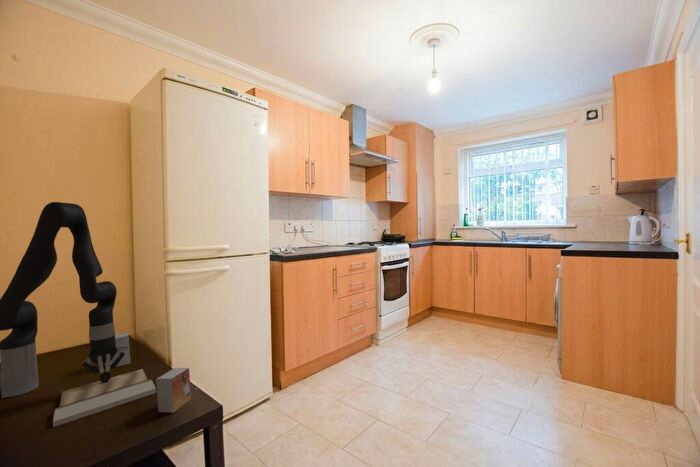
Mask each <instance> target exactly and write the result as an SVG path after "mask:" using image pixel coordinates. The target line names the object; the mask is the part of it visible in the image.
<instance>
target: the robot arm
mask: <svg viewBox="0 0 700 467" xmlns="http://www.w3.org/2000/svg"><path fill="white" fill-rule="evenodd" d="M85 212H86V211H85V210H84V209H83V207H82V206H80V205H79V204H77V203H72V202H60V201H51V202H48V203H47V204H46V205H45V206H44V207H43V208H42V210H41V213H40V215H39V218H38V221H37V224H36V227H35V230H34V233H33V236H32V238H31V239H30V242H29V244H28V247H27V248H26V251H25V252H24V254H23V255H22V258H21V260H20V262H19V264H18V266H17V268H16V271H15V273H14V275H13V277H12V279H11V281H10V282H9V284H8V285H7V288H6V289H5V291H4V293H3V294H2V295H1V297H0V332H1V331H2V332H3V331H9V330H11V332H10V333H9V334H8V335H6V336H5V337H4V338H3V339H2V340H0V390H1V391H0V392H1V399H4V398H5V399H6V398H11V397H16V396H21V395H24V394H27V393H30V392H31V391H34V390H36V389H37V388H38V387H39V386H40V385H39V369H38V358H37V345H36V344H37V343H36V342H37V341H36V337H37V335H38V330H39V329H38V310H37V308H36V305H35V304H34V303H33V302H32V301H29V300H27V299H28V297H29V296H30V295H31V294H33V292H35V291H36V290H37V289H38V288H39V287H41V285H43V284H44V283H45V282H46V281H47V280H48V279H49V277H50V276H51V274H52V272H53V270H54V268H55V266H56V264H57V262H58V254H57V251H56V246H55V242H56V238H57V236H58V234H59V231H60V230H61V229H62V228H67V229H69V231H70V233H71V235H72V237H73V238H72V239H73V246H72V247H73V248H72V252H71V260H72V263H73V265H74V267H75V270H76V272H77V275H78V280H79V281H78V282H79V293H80V296H81V298H82V299H83V301H84V302H85V303H88V304H96V306H95V307H94V308H92V309H91V310H90V311H89V313H88V324H89V325H88V326H89V329H88V339H89V340H88V341H89V355H88V357H87V358H86V359H85V360H83V361H82V363H81V365H82V367H84V368H86V370H88V371H90V372H91V373H93V374H99V379H100V380H99V381H101V382H103V383H105V382H108V380H110V378H111V371H112V370H113V369H116V368H117V367H116V366H117V365H118V363H119V362H120V360H121V359H122V358H123V356H124V352H123V351H122V352H120V351H118V349H117V348H116V342H115V335H116V329H115V324H114V312H113V311H114V308H115V304H116V303H115V302H116V299H117V292H118V291H117V287H116V285H115V284H114V283H113V281H108V280H105V281H100V282H97V277H99V276H101V275H102V274H103V273H104V272H103V267H102V265H101V263H100V260H99V259H98V256H97V254H96V251H95V248H94V245H93V242H92V236H91V232H90V229H89V223H88V219H87V215H86V213H85ZM116 354H117V355H116ZM115 355H116V357H117V358H116V359H115V361H114V362H113V363H112V365H110V361H111V360H112V359H113V358H114V356H115ZM92 362H93V363H94V364H96V365H98V368H97V367H95V366H94V365H93V364H92ZM104 365H105V368H104ZM105 380H106V381H105Z"/></svg>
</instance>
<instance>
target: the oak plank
mask: <svg viewBox="0 0 700 467" xmlns="http://www.w3.org/2000/svg"><path fill="white" fill-rule="evenodd" d="M147 380H149V379H148V377H147V374H145V371H144V369H143V368H141V369H136V370H133V371H130V372H127V373H123V374H119V375H116V376H112V377H110V380H108V382H105V383H103V382H101V380H98V381H94V382H91V383H87V384H84V385H80V386H77V387H74V388H70V389H67V390H63V391H61V397H60V403H59V407H62V406H65V405H68V404H72V403H75V402H78V401H81V400H85V399H88V398H91V397H94V396H98V395H101V394H104V393H108V392H111V391H114V390H117V389H121V388H124V387H127V386H130V385H134V384H137V383H140V382H143V381H147ZM105 381H106V380H105Z"/></svg>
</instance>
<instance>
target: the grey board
mask: <svg viewBox="0 0 700 467" xmlns="http://www.w3.org/2000/svg"><path fill="white" fill-rule="evenodd" d="M153 394H157V387H156V385H155V384H154V382H153V380H152V379H148V380H147V381H143V382H140V383H137V384H134V385H130V386H127V387H124V388H121V389H117V390H114V391H111V392H108V393H104V394H101V395H98V396H94V397H91V398H88V399H85V400H81V401H78V402H75V403H72V404H68V405H65V406H62V407H60V406H59V407H56V408H55V409H54V414H53V420H52V425H53V426H52V428H54V427H55V428H56V427H58V426H60V425H64V424H67V423H70V422H73V421H76V420H79V419H82V418H84V417H87V416H91V415H94V414H97V413H101V412H103V411H105V410H108V409H112V408H115V407H117V406H121V405H124V404H126V403H129V402H132V401H135V400H139V399H141V398H144V397H147V396H150V395H153Z"/></svg>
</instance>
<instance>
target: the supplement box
mask: <svg viewBox="0 0 700 467" xmlns="http://www.w3.org/2000/svg"><path fill="white" fill-rule="evenodd" d="M129 337H130V336H129V332H122V333H118V334H115V342H116V348H117V349H118V351H120V352H122V351H123V352H124V356H123V358H122V359H121V360H120V362H119V363H118V365H117V366H116V367H115V368H118V367H121V366H126V365H130V364H131V354H130V352H131V351H130V338H129ZM116 355H117V354H116ZM116 355H115V356H114V358H113V359H112V360H111V361H110V365H112V363H113V362H114V361H115V359H116V358H117V357H116Z"/></svg>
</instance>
